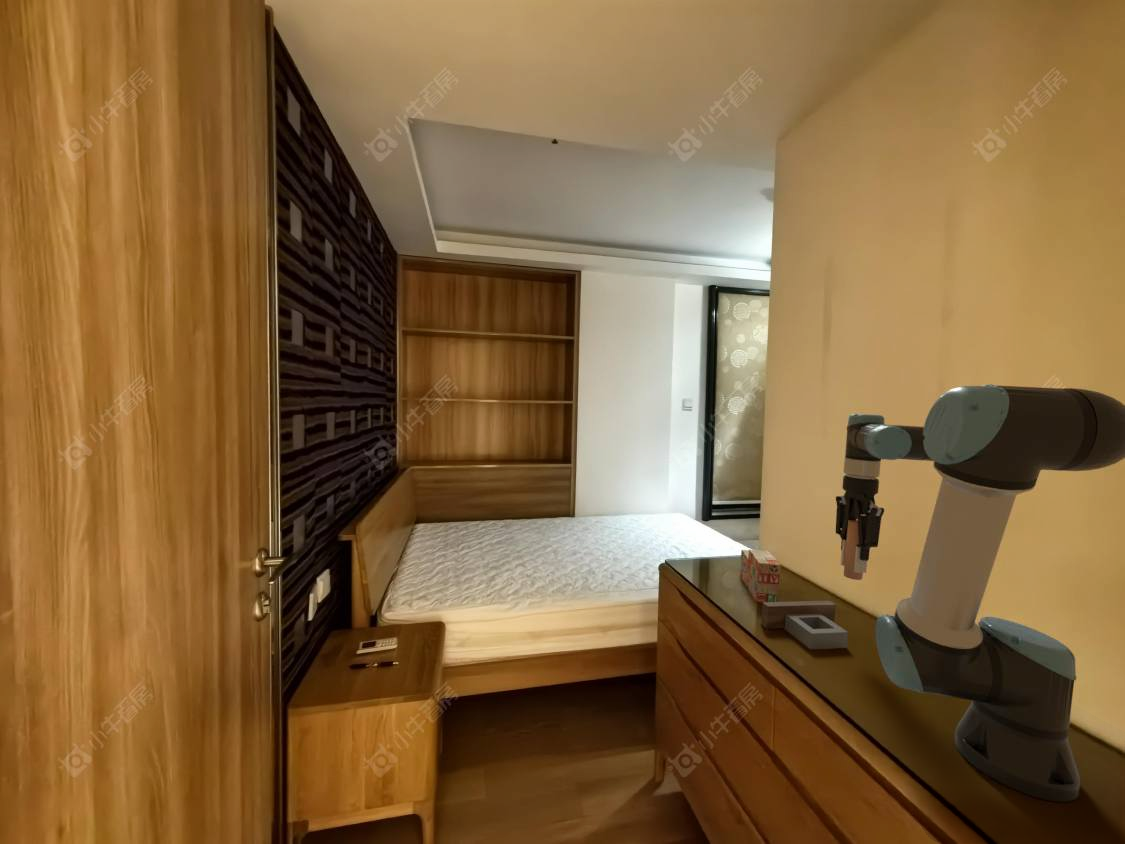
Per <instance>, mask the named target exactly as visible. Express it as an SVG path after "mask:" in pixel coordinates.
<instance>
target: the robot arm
mask: <svg viewBox="0 0 1125 844" xmlns="http://www.w3.org/2000/svg"><path fill="white" fill-rule="evenodd" d="M926 416H927V417H926V418H925V422H924V425H923V426H913V425H899V424H896V425H895V424H885V417H884V416H883V415H882V414H881V415H880V414H868V413H852V414H850V415H849V417H848V421H847V426H846V440H845V441H846V442H845V456H844V463H843V473H844V474H845V475H843V477H842V486H841V487H842V490H843V491H844V494H843V495H841V496H840V495H837V496H835V502H836V514H835V516H836V517H835V534H836V535H839V537H840V538H841V543H840V544H841V545H840V551H841V555H840V566H843V567H844V564H845V552H846V541H847V529H848V520H858V535H859V544H856V553H855V564H854V572H856V573H863V574H867V569H868V568H867V567H868V562H869V559H870V550H871V549H872V548H878V546H879V540H880V533H881V532H880V531H881V522H882V518H883V515H884V513H885V509H884V508H883V507H879V506H878V505H876V501H875V495H876V494H878V493H879V487H880V486H879V485H880V480H879V478H878V477H880V475H881V474H880V473H881V472H880V471H881V463H882V462H881V461H882V460H887V461H896V460H909V461H928V462H933V469H934V470H935V471H936V472H937V473H938V474H939V475H940V477H941V482H940V486H939V490H938V493H937V498H936V501H935V504H934V509H933V513H932V516H931V518H930V519H931V520H930V524H929V526H928V532H927V535H926V538H925V542H924V546H923V550H922V553H921V558H920V561H919V565H918V569H917V572H916V576H915V579H914V583H913V587H912V590H911V594H910V597H907V598H902V599H901V600H900V601H899V602H898V603H897V604H896V609H895V611H894V615H889V614H881V615H879V616H878V617H877V619H876V622H875V623H876V624H875V641H876V648H877V652H878V656H879V659H880V662H881V665H882V667H883V670H884V671H885V674H886V675H887V677H888V678H889V680H890V681H891V683H893V684H894V685H895V686H897V687H899V688H901V689H904V690H905V689H906V690H909V691H913V692H917V693H919V694H929V695H930V694H931V695H936V696H942V697H950V698H955V699H961V700H969V701H971V703H970V705H969V707H968V708H967V709H966V711H965V713H964V714H963V716H962V717H961V719H960V720H959V722H958V724H957V725H956V727H955V733H954V744H955V747H956V749H957V750H958V751H959V753H960V754H961V756H962V757H963V758H964V759H965V760H967V762H968V763H970V764H971V765H972V766H974V767H975V769H977V770H978V771H980V772H981V773H983V774H984V775H986V776H988V777H989V778H991V779H993V780H994V781H997V782H998V783H1000V784H1002V785H1004V786H1006V787H1008V788H1010V789H1013V790H1015V791H1017V792H1019V793H1022V794H1025V795H1028V796H1031V797H1035V798H1038V799H1040V800H1041V799H1042V800H1045V801H1052V802H1057V803H1058V802H1060V803H1061V802H1063V803H1065V802H1071V801H1074V800H1075V799H1077V798H1078V796H1079V794H1080V793H1079V792H1080V785H1081V784H1080V783H1081V779H1080V778H1081V777H1080V774H1079V771H1078V768H1077V765H1076V762H1075V758H1074V755H1073V752H1072V749H1071V745H1070V743H1069V730H1070V729H1069V727H1070V722H1071V714H1072V705H1073V704H1072V703H1073V693H1074V687H1075V685H1074V684H1075V681H1077V678H1078V677H1077V675H1076V657H1075V655H1074V652H1072V650H1071V649H1070V648H1069V647H1068V646H1067V645H1065V644H1064V643H1062V642H1061V641H1059V640H1057V639H1056V638H1055V637H1052V636H1050V635H1048V634H1046V633H1045V632H1042V631H1039V630H1037V629H1035V628H1032V627H1029V626H1026V625H1023V624H1021V623H1018V622H1015V621H1011V620H1007V619H1003V618H1000V617H996V616H995V617H994V616H986V617H985V616H984V617H981V618H980V619H979V621H978V623H976V619H977V616H978V613H979V611H980V607H981V605H982V601H983V598H984V594H985V592H986V588H987V586H988V583H989V580H990V577H991V573H992V570H993V567H994V565H995V562H996V559H997V555H998V552H999V549H1000V545H1001V543H1002V540H1003V537H1004V534H1005V531H1006V528H1007V525H1008V522H1009V518H1010V516H1011V513H1012V510H1013V506H1014V503H1015V501H1016V497H1017V496H1018V495H1020V494H1023V493H1026V492H1029V491H1032V490H1034V489H1035V486H1036V483H1037V481H1038V478H1039V476H1040V473H1041V471H1057V472H1058V471H1059V472H1062V471H1066V472H1082V471H1083V472H1084V471H1086V472H1087V471H1093V470H1099V469H1103V468H1107V467H1110V466H1112V465H1114V464H1118V463H1119V462H1120V461H1123V460H1124V459H1125V404H1124V403H1122V402H1121V401H1120V400H1119V399H1116V398H1114V397H1112V396H1109V395H1107V394H1105V393H1102V392H1098V391H1095V390H1089V389H1083V388H1075V387H1074V388H1073V387H1071V388H1070V387H1069V388H1067V387H1066V388H1065V387H1064V388H1060V387H1037V386H1013V385H1011V386H1010V385H997V384H996V385H995V384H992V383H991V384H989V383H988V384H983V385H961V386H957V387H953V388H951V389H949V390H947V391H946V392H945V393H944V394H942V395H940V396H939V397H938V399H936V400H935V402H934V403H933V404H932V407H931V408H929V411H928V413H927V415H926Z"/></svg>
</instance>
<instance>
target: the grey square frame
mask: <svg viewBox="0 0 1125 844" xmlns="http://www.w3.org/2000/svg"><path fill="white" fill-rule="evenodd" d="M784 630H785V631H786V632H787V633H789V635H791V636H793V637H794V638H795V639H796V640H798V641H799V642H800V643H801V644H802V645H804V646H805V647H807V649H809V651H810V650H827V649H830V650H831V649H833V650H834V649H847V648H848V637H849V631H847V630H845V629H844V628H843V627H841V626H840V625H838V624H837V623H835V621H834V622H832V621H831V620H829V619H828V618H826V617H825V616H823V615H822V614H820V613H810V614H786V616H785V628H784Z"/></svg>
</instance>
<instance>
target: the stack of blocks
mask: <svg viewBox="0 0 1125 844" xmlns="http://www.w3.org/2000/svg"><path fill="white" fill-rule="evenodd" d="M781 566H782V565H781V563H780V562H779V561H778V560H777V558H776V557H775V556H773V554H772V553H771V552H770V551H768V550H761V549H759V550H757V549H748V550H747V549H741V553H740V575H739V576H740V577H741V580H742V582H743V583H744V585H745V586H746V588H747V589H748V592H749V593H750V594H751V596H752V599H753V600H754V601H755V603H761V604H763V602H779V601H778V599H779V587H780V586H779V585H780V578H781Z"/></svg>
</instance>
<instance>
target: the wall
mask: <svg viewBox="0 0 1125 844" xmlns="http://www.w3.org/2000/svg"><path fill="white" fill-rule="evenodd" d="M836 605H837V604H836V603H834V602H833V601H831V600H804V601H803V600H801V601H800V600H799V601H777V602H763V603H762V609H761V621H760V622H761V623H760V625H761V624H762V625H761V626H762V627H764V628H765V627H766V628H770V629H785V616H786V614H810V613H820V614H822V615H823V616H825V617H826V618H828V619H829V620H831V621H832V622H834V623H835V618H836ZM766 628H765V629H766Z"/></svg>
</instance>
